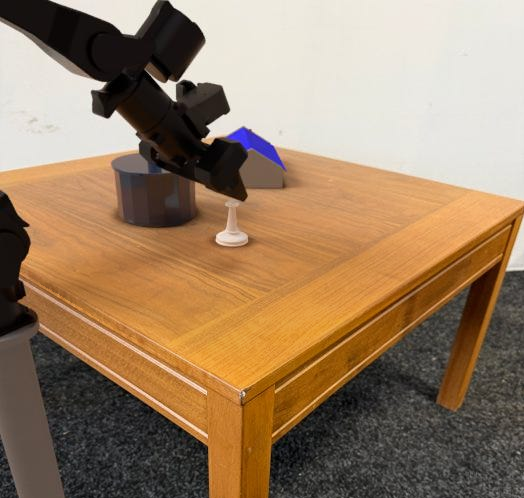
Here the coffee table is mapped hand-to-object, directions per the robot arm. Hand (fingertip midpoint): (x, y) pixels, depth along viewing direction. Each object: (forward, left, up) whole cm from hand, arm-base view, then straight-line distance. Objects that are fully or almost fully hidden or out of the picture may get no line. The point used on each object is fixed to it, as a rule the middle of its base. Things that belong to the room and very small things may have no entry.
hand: (225, 190), depth 78 cm
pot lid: (+2, +17, 0) cm, 17 cm away
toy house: (+33, +22, -8) cm, 40 cm away
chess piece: (+1, 0, -8) cm, 8 cm away
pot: (+2, +17, -8) cm, 19 cm away
